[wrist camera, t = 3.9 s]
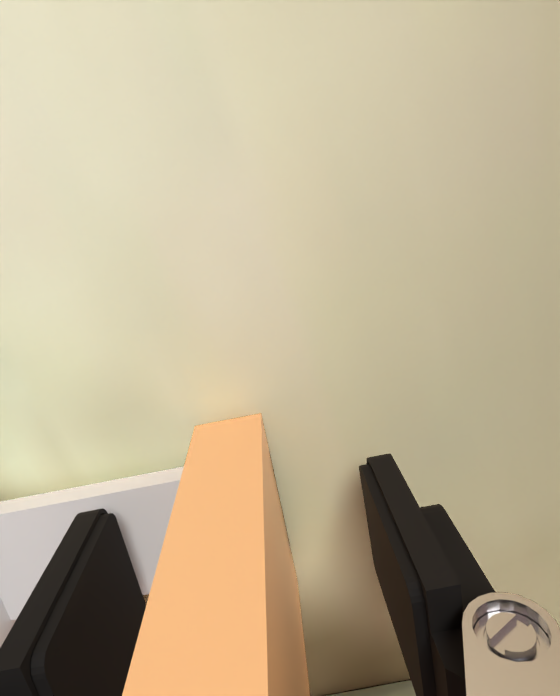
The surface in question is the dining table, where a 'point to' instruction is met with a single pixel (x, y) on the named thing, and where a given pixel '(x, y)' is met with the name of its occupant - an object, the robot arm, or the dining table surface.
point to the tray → (384, 690)
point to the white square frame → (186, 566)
